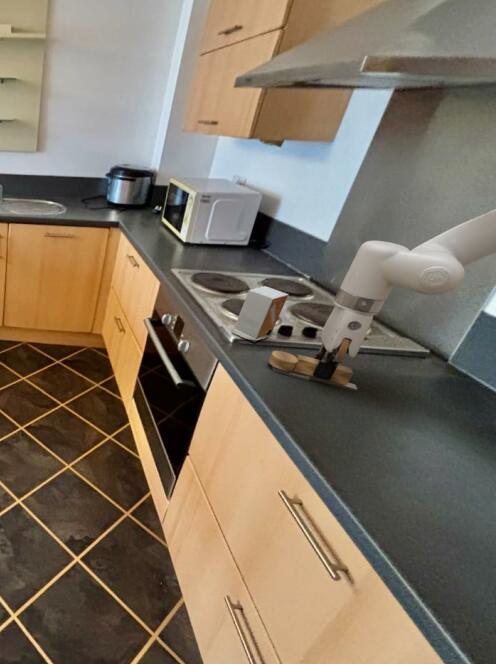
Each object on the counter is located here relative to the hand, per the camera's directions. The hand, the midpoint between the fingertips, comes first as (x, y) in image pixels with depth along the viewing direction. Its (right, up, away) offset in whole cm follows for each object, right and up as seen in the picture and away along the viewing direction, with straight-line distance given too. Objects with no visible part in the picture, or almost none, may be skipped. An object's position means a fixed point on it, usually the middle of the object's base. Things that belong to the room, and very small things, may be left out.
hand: (319, 373), depth 94 cm
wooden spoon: (-2, 0, +1) cm, 3 cm away
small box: (-4, +8, +19) cm, 21 cm away
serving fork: (-1, -1, +1) cm, 2 cm away
